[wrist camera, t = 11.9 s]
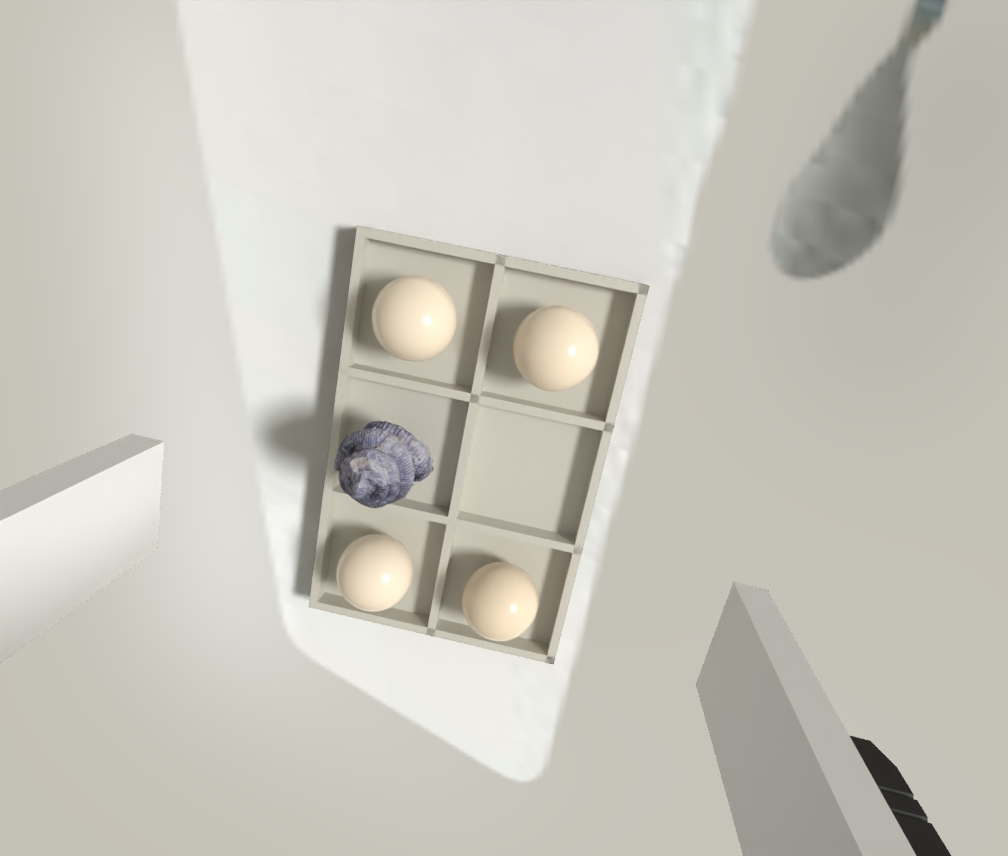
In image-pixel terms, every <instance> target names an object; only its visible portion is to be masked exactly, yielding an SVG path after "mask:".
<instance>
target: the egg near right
mask: <svg viewBox="0 0 1008 856" xmlns="http://www.w3.org/2000/svg"><path fill="white" fill-rule="evenodd" d="M598 354H599V341H598V336H597V333H596V331H595V329H594V327H593V325H592V324H591V322H590V321H589V320H588V319H587V318H586V317H585V316H584V315H583V314H582V313H580V312H579V311H577V310H575V309H573V308H571V307H567V306H562V305H550V306H545V307H542V308H539V309H537V310H535V311H534V312H532V313H531V314H529V315H528V316H527V317H526V318H525V319H524V320H523V321H522V322H521V324H520V325H519V327H518V329H517V331H516V333H515V336H514V340H513V358H514V361H515V364H516V367H517V369H518V371H519V372H520V374H521V375H522V376H523V377H524V378H525V380H526V381H528V382H529V383H530V384H532V385H533V386H535V387H537V388H539V389H542V390H545V391H551V392H560V391H566V390H569V389H572V388H574V387H576V386H578V385H579V384H581V383H582V382H584V381H585V380H586V379H587V378H588V377H589V375H590V374H591V373H592V371H593V369H594V367H595V365H596V363H597V359H598Z"/></svg>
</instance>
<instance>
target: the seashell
mask: <svg viewBox="0 0 1008 856" xmlns="http://www.w3.org/2000/svg"><path fill="white" fill-rule="evenodd" d="M432 463H433V458H432V457H431V456H430V451H429V448H428V447H427V446H425V445H424V443H422V442H421V441H418V440H417V439H416V438H415V436H413V434H411V433H410V432H409V431H406V430H405V429H404V428H403V427H401V426H399V425H396V424H393V423H390V422H386V421H383V422H382V421H372V422H370V423H368V424H367V425H366V426H365V427H364V428H363V430H360V431H355V432H353V433H351V434H349V435H348V436H347V437H346V438H344V439H343V440H342V442H341V443H340V445H339V446H338V448H337V453H336V458H335V460H334V468H335V470H336V471H338V472H339V475H338V478H339V483H340V486H341V488H342V490H343V491H344V492H345V493H346V494H348V495H349V496H350V497H351V498H352V499H354V500H355V501H357V502H358V503H360V504H361V505H364V506H367V507H369V508H381V507H383V506H386V505H387V504H391V503H394V502H396V501H398V500H401V499H403V498H405V497H406V495H407V494H408V492H409V491H410V490H411V487H412V486H413V485H414V482H420V481H422V480H423V479H425V478H426V477H428V475H430V473H431V472H433V470H434V468H433V465H432Z"/></svg>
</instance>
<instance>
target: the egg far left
mask: <svg viewBox="0 0 1008 856" xmlns="http://www.w3.org/2000/svg"><path fill="white" fill-rule="evenodd" d="M413 573H414V569H413V562H412V559H411V556H410V554H409V552H408V551H407V549H406V548H405V546H404V545H403V544H402V543H401V542H399V541H398V540H397V539H395V538H393V537H391V536H388V535H384V534H369V535H365V536H362V537H360V538H358V539H356V540H354V541H353V542H352V543H350V544H349V545H348V546H347V547H346V549H345V550H344V551H343V553H342V554H341V556H340V558H339V561H338V564H337V568H336V580H337V585H338V588H339V590H340V592H341V594H342V596H343V597H344V598H345V599H346V600H347V601H348V602H349V603H350V604H351V605H353V606H354V607H356V608H358V609H361V610H364V611H370V612H377V611H382V610H386V609H389V608H391V607H393V606H394V605H396V604H397V603H398V602H400V601H401V600H402V599H403V598H404V596H405V595H406V594H407V592H408V590H409V589H410V586H411V584H412V580H413Z"/></svg>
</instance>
